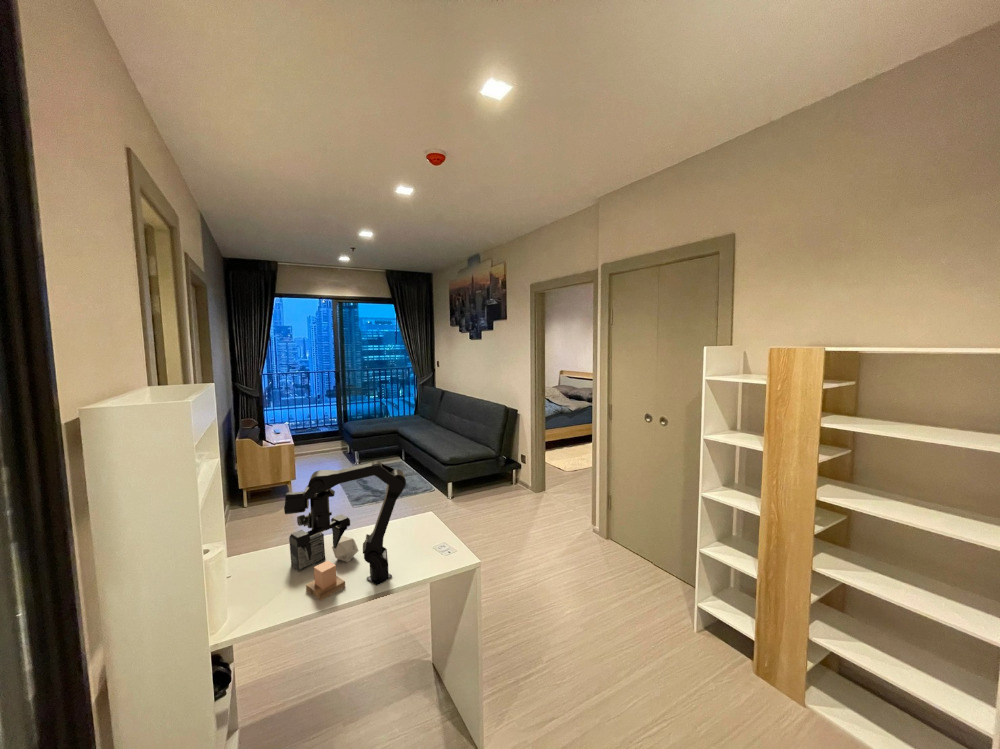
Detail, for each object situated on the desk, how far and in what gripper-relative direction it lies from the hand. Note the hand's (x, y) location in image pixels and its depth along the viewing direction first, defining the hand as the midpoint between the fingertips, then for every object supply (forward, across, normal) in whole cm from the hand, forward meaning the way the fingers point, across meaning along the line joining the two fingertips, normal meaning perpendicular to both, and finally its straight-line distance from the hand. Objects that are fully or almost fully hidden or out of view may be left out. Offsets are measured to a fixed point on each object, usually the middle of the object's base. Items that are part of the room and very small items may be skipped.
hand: (322, 553), depth 136 cm
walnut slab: (+13, 0, 0) cm, 13 cm away
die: (+13, -15, -10) cm, 22 cm away
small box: (+13, -5, -20) cm, 24 cm away
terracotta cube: (+11, 0, 0) cm, 11 cm away
